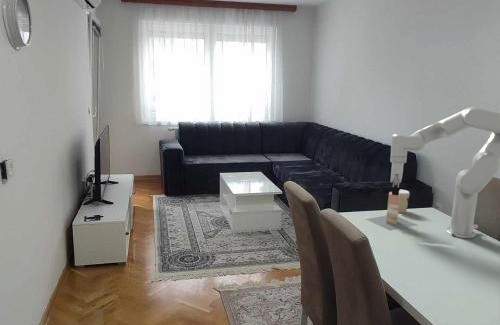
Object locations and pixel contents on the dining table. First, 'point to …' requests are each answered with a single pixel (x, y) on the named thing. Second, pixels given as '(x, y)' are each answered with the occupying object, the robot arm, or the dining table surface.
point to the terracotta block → (393, 199)
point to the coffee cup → (403, 200)
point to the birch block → (392, 209)
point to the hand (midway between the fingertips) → (395, 192)
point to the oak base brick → (391, 218)
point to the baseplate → (382, 222)
